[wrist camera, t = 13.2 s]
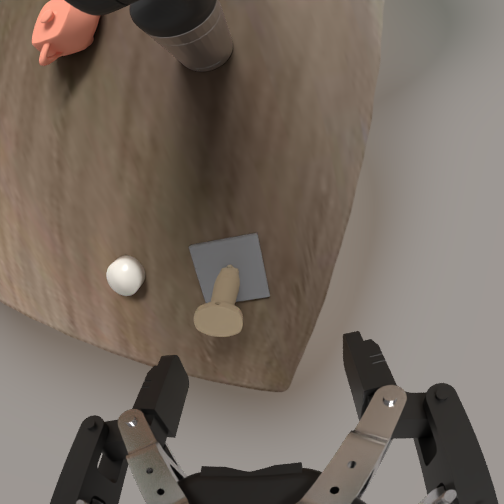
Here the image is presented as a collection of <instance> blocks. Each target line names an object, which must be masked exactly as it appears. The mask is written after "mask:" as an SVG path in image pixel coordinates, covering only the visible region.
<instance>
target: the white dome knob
mask: <svg viewBox="0 0 504 504" xmlns="http://www.w3.org/2000/svg"><path fill="white" fill-rule="evenodd" d="M107 280H108V283H109V285H110V286H111V288H112V289H113V290H114V291H115V292H117V293H118V294H120V295H124V296H130V295H133V294H134V293H136V291H137V290H138V289H139V287H140V286H141V285H142V284H143V282H144V280H145V270H144V267H143V266H142V264H141V263H140V262H139V261H138V260H137V259H136V258H134V257H132V256H129V255H124V256H121V257H119V258H118V259H117V260H116V261H115V262H113V263H112V264H111V265H110V266H109V268H108V270H107Z"/></svg>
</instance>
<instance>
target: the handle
mask: <svg viewBox="0 0 504 504" xmlns="http://www.w3.org/2000/svg"><path fill="white" fill-rule="evenodd" d="M238 273H239V270H238V268H234V267H233V266H232V265H228V266H227V267H225V268H222V269H221V271H220V273H219V275H218V276H217V278H216V281H215V284H214V288H213V293H212V298H211V302H208V303H206V304H203V305H201V306H199V307H198V308H197V310H196V312H195V315H194V324H195V326H196V328H197V329H198V330H199V331H200V332H202V333H205V334H207V335H210V336H215V337H228V336H232V335H235V334H237V333H239V332H240V331H241V330H242V327H243V315H242V312H241V310H240V309H239V308H238V307H236V306H234V305H235V302H236V298H237V295H238V292H239V286H240V279H239V274H238Z"/></svg>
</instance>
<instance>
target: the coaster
mask: <svg viewBox="0 0 504 504" xmlns="http://www.w3.org/2000/svg"><path fill="white" fill-rule="evenodd" d="M189 250H190V253H191V256H192V260H193V263H194V266H195V270H196V273H197V276H198V280H199V283H200V286H201V289H202V292H203V296H204V299H205V302H206V303H208V302H211V298H212V293H213V288H214V284H215V281H216V278H217V276H218V275H219V273H220V271H221V269H222V268H225V267H227V266H228V265H232V266H233V267H234V268H238V270H239V273H238V274H239V279H240V286H239V292H238V295H237V298H236V302H238V301H245V300H251V299H258V298H264V297H270V292H269V287H268V282H267V277H266V272H265V267H264V262H263V257H262V252H261V247H260V243H259V238H258V233H252V234H247V235H241V236H236V237H230V238H225V239H219V240H214V241H209V242H203V243H198V244H193V245H190V246H189Z"/></svg>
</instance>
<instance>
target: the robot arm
mask: <svg viewBox="0 0 504 504" xmlns="http://www.w3.org/2000/svg"><path fill="white" fill-rule="evenodd" d="M64 1H66V2H67V3H69V4H70V5H72V6H73V7H75V8H76V9H78V10H80V11H82V12H84V13H87V14H90V15H95V16H99V15H105V14H108V13H111V12H114V11H116V10H119V9H121V8H123V7H126V6H128V5H130V15H131V18H132V20H133V22H134V23H135V24H136V25H137V26H138V27H139V28H140V29H142V30H143V31H144V32H146V33H147V34H148V35H149V36H150V37H152V38H153V39H154V40H155V41H157V42H158V43H159V44H160V45H161V46H162V47H164V48H165V49H166V50H167V51H168V52H169V53H171V54H172V55H173V56H174V57H175V58H176V59H177V60H178V61H179V62H181V63H182V64H183V65H184V66H185V67H187V68H188V69H191V70H193V71H198V72H205V71H210V70H213V69H216V68H218V67H220V66H221V65H222V64H224V63H225V62H226V61H227V60H228V58H229V57H230V55H231V53H232V50H233V41H232V37H231V34H230V31H229V28H228V25H227V22H226V19H225V16H224V13H223V10H222V7H221V4H220V2H219V0H64ZM343 361H344V367H345V371H346V375H347V378H348V382H349V385H350V389H351V392H352V395H353V400H354V403H355V407H356V411H357V414H358V418H359V423H358V425H357V427H356V428H355V430H354V431H351V432H350V433H349V434H348V435H347V437H346V438H345V440H344V441H343V443H342V445H341V446H340V448H339V449H338V451H337V452H336V454H335V455H334V457H333V458H332V460H331V461H330V462H329V464H328V465H327V467H326V468H325V470H324V471H323V472H320V471H317V470H313V469H307V468H302V463H301V462H300V463H292V464H283V465H274V466H271V467H268V468H264V469H260V470H256V471H252V472H247V471H241V470H236V469H232V468H227V467H207V466H202V468H201V472H200V473H196V474H193V475H190V476H187V475H186V474H185V473H184V471H183V470H182V469H181V467H180V465H179V464H178V462H177V460H176V459H175V457H174V456H173V454H172V452H171V450H170V449H169V447H168V445H167V443H166V442H165V441H166V438H167V437H174V438H175V436H176V432H177V428H178V425H179V421H180V417H181V414H182V410H183V406H184V402H185V398H186V395H187V392H188V388H189V379H188V375H187V373H186V371H185V369H184V367H183V365H182V363H181V361H180V359H179V357H178V356H177V355H168V356H162V357H161V359H160V361H159V364H158V366H154V367H153V368H152V369H151V370H150V371H149V372H148V373H147V376H146V378H145V382H144V383H143V385H142V388H141V390H140V392H139V394H138V397H137V399H136V401H135V404H134V406H133V408H132V409H130V410H127V411H125V412H124V413H122V414H121V415H120V417H119V419H118V420H114V421H107V422H104V421H103V419H101V417H99V416H90V417H88V418H86V419H85V420H84V421H83V422H82V424H81V426H80V429H79V431H78V433H77V435H76V438H75V440H74V442H73V445H72V447H71V449H70V452H69V454H68V457H67V459H66V462H65V464H64V467H63V469H62V472H61V474H60V477H59V480H58V482H57V485H56V488H55V491H54V494H53V496H52V499H51V502H50V504H118V503H119V499H120V495H121V490H122V487H123V483H124V479H125V475H126V471H127V467H128V464H129V467H130V469H131V471H132V474H133V476H134V479H135V481H136V483H137V485H138V487H139V489H140V492H141V494H142V496H143V498H144V500H145V502H146V504H366V503H365V502H363V501H362V500H361V497H362V495H363V494H364V492H365V491H366V489H367V487H368V485H369V484H370V482H371V481H372V479H373V477H374V475H375V473H376V471H377V469H378V467H379V466H380V464H381V462H382V460H383V458H384V456H385V454H386V452H387V450H388V448H389V446H390V444H391V442H392V440H393V438H414V442H415V446H416V449H417V453H418V456H419V460H420V465H421V468H422V473H423V477H424V481H425V485H426V490H427V496H426V497H425V498H424V499H423V500H422V501H421V502H420V503H419V504H498V500H497V497H496V494H495V490H494V486H493V483H492V480H491V477H490V473H489V470H488V468H487V465H486V462H485V459H484V456H483V453H482V451H481V448H480V445H479V443H478V441H477V438H476V435H475V433H474V431H473V428H472V426H471V423H470V421H469V419H468V416H467V414H466V412H465V410H464V408H463V406H462V403H461V401H460V399H459V397H458V395H457V393H456V391H455V389H454V388H453V387H452V386H450V385H448V384H445V383H439V384H435V385H433V386H431V387H430V388H429V389H428V391H427V392H426V393H409V392H405V391H404V390H403V389H402V388H401V387H398V386H397V385H396V383H395V381H394V378H393V376H392V374H391V371H390V369H389V368H388V365H387V363H386V361H385V358H384V356H383V355H382V352H381V350H380V347H379V345H378V344H376V343H375V342H374V341H372V340H371V339H369V340H365V341H363V339H362V337H361V334H360V332H359V331H356V332H351V333H346V334H343ZM101 452H102V453H103V455H102V458H101V461H100V464H99V467H98V468H97V464H98V461H99V458H100V455H101Z"/></svg>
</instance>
